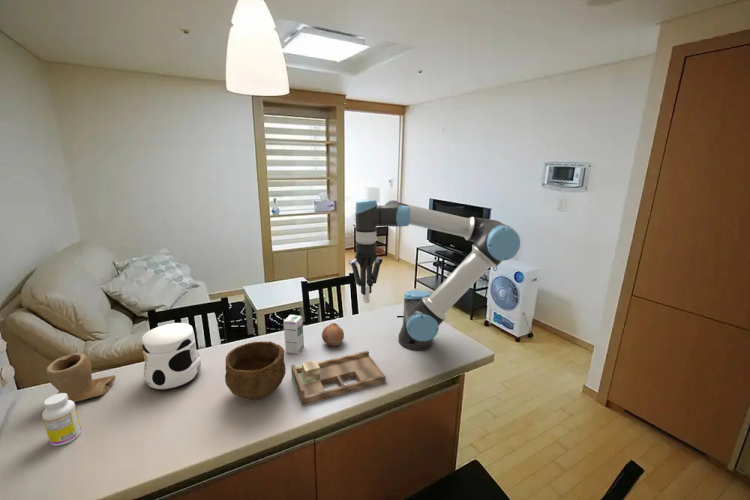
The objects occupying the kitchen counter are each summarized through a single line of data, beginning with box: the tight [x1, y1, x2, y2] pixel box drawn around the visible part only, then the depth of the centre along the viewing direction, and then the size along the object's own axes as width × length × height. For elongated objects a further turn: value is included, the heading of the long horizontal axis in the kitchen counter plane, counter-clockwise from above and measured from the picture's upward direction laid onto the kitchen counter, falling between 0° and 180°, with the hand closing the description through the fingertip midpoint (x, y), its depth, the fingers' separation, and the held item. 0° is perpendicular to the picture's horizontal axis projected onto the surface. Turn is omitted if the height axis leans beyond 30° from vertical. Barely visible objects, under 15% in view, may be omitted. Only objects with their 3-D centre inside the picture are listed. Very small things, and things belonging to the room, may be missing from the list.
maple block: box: [301, 360, 320, 381], centre depth 119 cm, size 5×5×4 cm
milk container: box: [141, 322, 202, 390], centre depth 118 cm, size 17×17×18 cm
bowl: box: [224, 341, 286, 401], centre depth 112 cm, size 19×19×15 cm
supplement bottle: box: [41, 393, 82, 447], centre depth 93 cm, size 7×7×13 cm
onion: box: [321, 322, 345, 348], centre depth 144 cm, size 10×9×10 cm
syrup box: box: [283, 314, 305, 355], centre depth 138 cm, size 6×6×14 cm
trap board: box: [290, 350, 387, 407], centre depth 121 cm, size 30×16×6 cm, turn 115°
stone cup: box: [45, 352, 116, 403], centre depth 109 cm, size 15×12×15 cm
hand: (366, 301), depth 130 cm, fingers closed
